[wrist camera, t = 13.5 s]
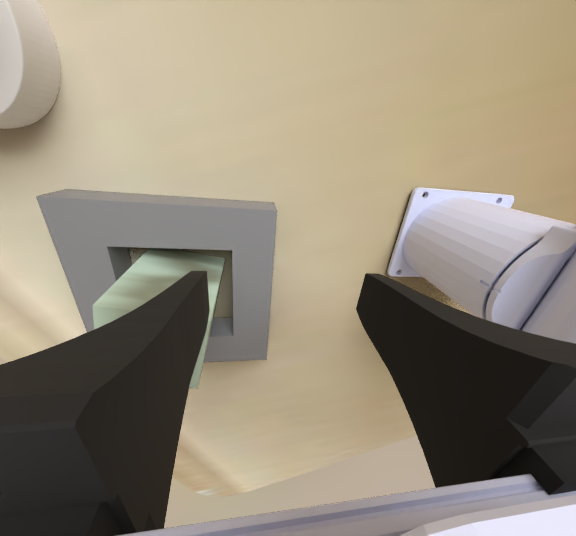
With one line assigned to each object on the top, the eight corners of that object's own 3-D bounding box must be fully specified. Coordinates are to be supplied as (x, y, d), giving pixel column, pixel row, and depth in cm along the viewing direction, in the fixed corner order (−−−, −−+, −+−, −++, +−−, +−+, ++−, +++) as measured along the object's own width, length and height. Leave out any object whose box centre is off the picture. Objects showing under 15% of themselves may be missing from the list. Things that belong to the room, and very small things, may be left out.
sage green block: (225, 258, 20) (210, 321, 13) (214, 310, 22) (197, 388, 15) (153, 244, 18) (92, 305, 11) (150, 301, 21) (97, 382, 14)
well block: (273, 202, 18) (277, 210, 16) (265, 340, 24) (266, 359, 22) (65, 189, 16) (36, 196, 14) (114, 344, 22) (100, 366, 20)
